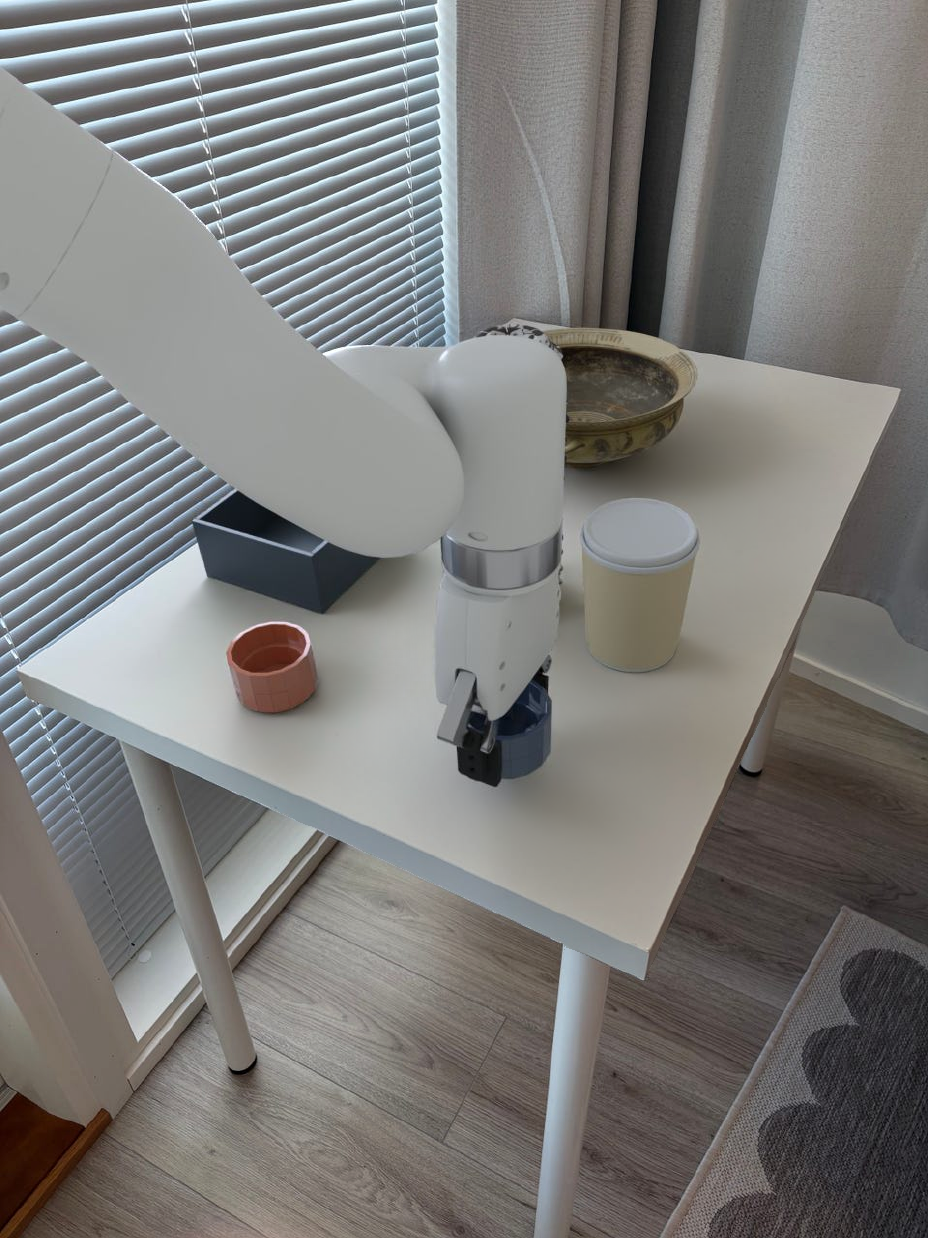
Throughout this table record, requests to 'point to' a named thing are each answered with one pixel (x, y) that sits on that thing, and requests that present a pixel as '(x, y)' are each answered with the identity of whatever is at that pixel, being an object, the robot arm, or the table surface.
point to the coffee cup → (636, 581)
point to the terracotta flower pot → (272, 666)
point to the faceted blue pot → (522, 732)
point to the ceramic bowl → (619, 392)
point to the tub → (274, 555)
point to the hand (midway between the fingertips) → (504, 741)
